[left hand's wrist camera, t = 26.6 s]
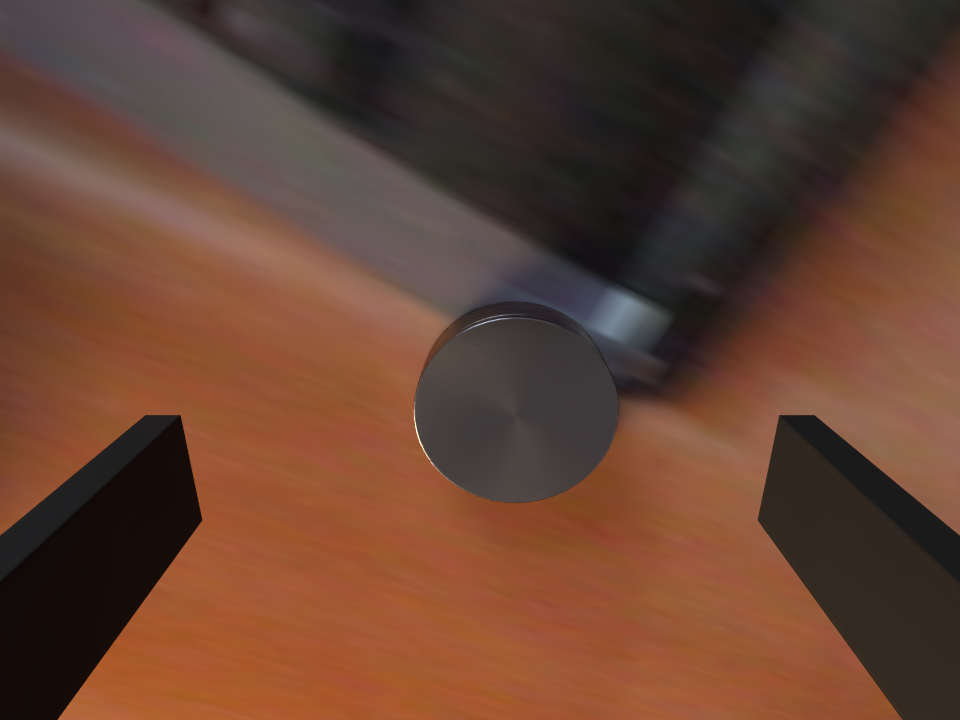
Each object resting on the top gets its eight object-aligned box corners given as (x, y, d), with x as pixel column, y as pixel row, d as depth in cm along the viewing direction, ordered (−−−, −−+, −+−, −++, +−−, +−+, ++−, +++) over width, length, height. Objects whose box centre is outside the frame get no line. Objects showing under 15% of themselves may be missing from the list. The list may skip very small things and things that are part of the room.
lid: (454, 490, 19) (450, 522, 17) (394, 332, 17) (383, 351, 16) (626, 447, 18) (638, 476, 17) (583, 276, 16) (592, 290, 15)
